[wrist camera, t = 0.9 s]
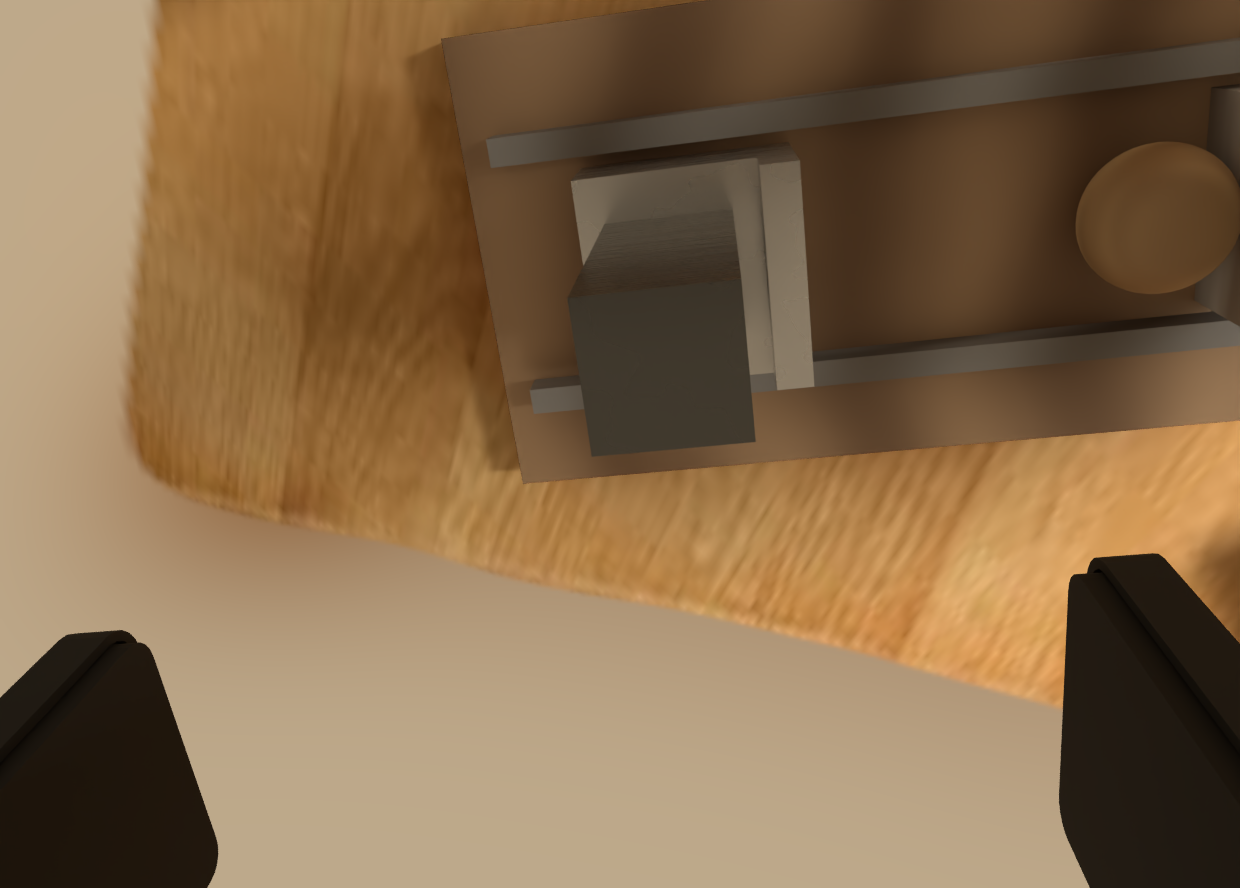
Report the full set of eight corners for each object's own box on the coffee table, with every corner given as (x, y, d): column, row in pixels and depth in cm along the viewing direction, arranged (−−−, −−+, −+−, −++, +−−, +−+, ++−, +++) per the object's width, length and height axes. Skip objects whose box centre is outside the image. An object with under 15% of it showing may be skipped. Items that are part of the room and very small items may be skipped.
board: (1316, -88, 28) (1485, -116, 22) (1263, 399, 33) (1386, 484, 27) (453, 37, 30) (390, 42, 24) (530, 465, 36) (494, 555, 30)
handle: (788, 142, 29) (827, 204, 19) (802, 342, 31) (843, 488, 22) (581, 168, 30) (520, 240, 20) (609, 363, 32) (565, 511, 22)
